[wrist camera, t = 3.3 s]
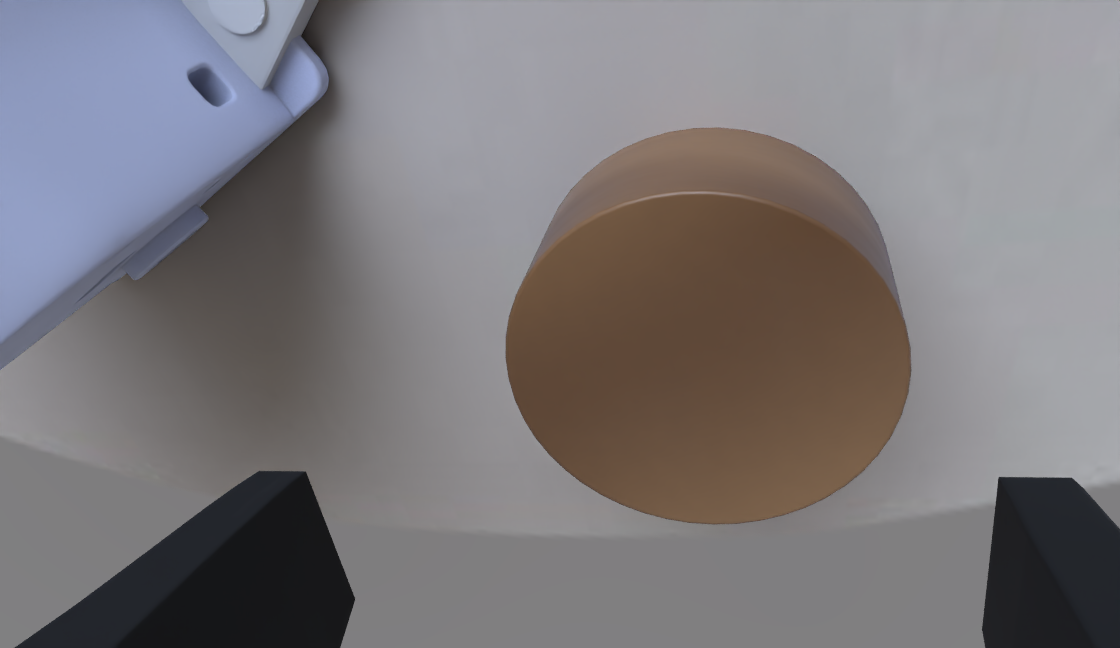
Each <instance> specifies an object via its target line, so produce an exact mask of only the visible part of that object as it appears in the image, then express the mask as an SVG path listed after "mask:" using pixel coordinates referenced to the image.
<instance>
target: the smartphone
mask: <svg viewBox="0 0 1120 648" xmlns="http://www.w3.org/2000/svg"><path fill="white" fill-rule="evenodd" d="M181 1H182V2H183V3H184V5H185V6H186V7H187V8H188V10H189V11H190V12H191V13H192V14H193V16H194V17H195V18H196V19H197V20H198V22H199V23H200V24H201V25H202V26H203V27H204V28H205V29H206V30H207V31H208V33H209V34H210V35H211V36H212V37H213V38H214V39H215V40H216V41H217V43H218V44H219V45H220V46H221V47H222V48H223V49H224V50H225V51H226V53H227V54H228V55H229V56H230V57H231V58H232V59H233V60H234V61H235V63H236V64H237V65H238V66H239V67H240V68H241V69H242V70H243V71H244V72H245V73H246V75H247V76H248V77H249V78H250V79H251V80H252V81H253V82H254V83H255V84H256V85H257V86H258V87H259V88H260V89H261V90H262V89H264V88H265V87H267V86H269V85H270V83H271V80H272V78H273V76H274V74H275V72H276V70H277V68H278V66H279V64H280V62H281V60H282V58H283V56H284V54H285V52H286V50H287V48H288V46H289V44H290V42H291V41H292V39H294V38H296V37H297V36H299V35H300V36H301V35H302V33H303V31H304V29H305V27H306V25H307V23H308V21H309V19H310V17H311V15H312V13H313V11H314V9H315V7H316V5H317V3H318V1H319V0H181Z"/></svg>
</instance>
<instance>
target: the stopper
mask: <svg viewBox="0 0 1120 648" xmlns="http://www.w3.org/2000/svg"><path fill="white" fill-rule="evenodd" d="M506 363H507V370H508V377H509V381H510V385H511V388H512V391H513V395H514V398H515V401H516V403H517V405H518V408H519V410H520V412H521V414H522V416H523V418H524V420H525V422H526V423H527V425H528V427H529V428H530V430H531V431H532V433H533V435H534V436H535V438H536V439H537V440H538V441H539V443H540V444H541V445H542V446H543V448H544V449H545V450H546V451H547V452H548V454H549V455H550V456H551V457H552V458H553V459H554V460H555V461H557V462H558V463H559V464H560V465H561V466H562V467H563V468H564V469H565V470H566V471H567V472H569V473H570V474H571V475H573V476H574V477H575V478H576V479H578V480H579V481H580V482H582V483H583V484H585V485H586V486H588V487H590V488H591V489H593V490H594V491H596V492H598V493H599V494H601V495H603V496H605V497H607V498H609V499H611V500H613V501H615V502H617V503H619V504H621V505H624V506H626V507H629V508H632V509H635V510H637V511H640V512H643V513H646V514H650V515H654V516H657V517H661V518H665V519H670V520H676V521H682V522H688V523H702V524H737V523H745V522H753V521H761V520H765V519H769V518H774V517H778V516H782V515H785V514H788V513H791V512H794V511H797V510H800V509H803V508H806V507H808V506H810V505H812V504H814V503H816V502H818V501H820V500H822V499H824V498H826V497H828V496H830V495H831V494H833V493H834V492H836V491H838V490H839V489H841V488H842V487H844V486H846V485H847V484H848V483H849V482H850V481H852V480H853V479H854V478H855V477H856V476H858V475H859V474H860V473H861V472H863V471H864V470H865V468H866V467H867V466H868V465H869V464H870V463H871V462H872V461H873V460H874V459H875V458H876V457H877V456H878V454H879V453H880V452H881V450H882V449H883V447H884V446H885V444H886V443H887V442H888V440H889V439H890V437H891V436H892V434H893V432H894V430H895V428H896V426H897V424H898V421H899V419H900V417H901V415H902V412H903V409H904V406H905V403H906V399H907V396H908V392H909V385H910V377H911V348H910V343H909V338H908V333H907V328H906V324H905V320H904V316H903V312H902V308H901V304H900V300H899V296H898V292H897V288H896V284H895V280H894V276H893V272H892V268H891V264H890V260H889V256H888V252H887V248H886V244H885V242H884V239H883V236H882V234H881V231H880V229H879V226H878V224H877V222H876V220H875V219H874V217H873V215H872V213H871V212H870V210H869V208H868V206H867V205H866V203H865V202H864V201H863V200H862V198H861V197H860V196H859V195H858V193H857V192H856V191H855V189H854V188H853V187H852V186H851V185H850V184H849V183H848V182H847V181H846V180H845V179H844V178H843V177H841V176H840V175H839V174H838V173H837V172H836V171H835V170H834V169H832V168H831V167H830V166H828V165H827V164H825V163H824V162H823V161H821V160H820V159H818V158H817V157H816V156H814V155H812V154H810V153H808V152H806V151H804V150H802V149H800V148H798V147H797V146H795V145H793V144H790V143H787V142H784V141H782V140H779V139H776V138H774V137H771V136H767V135H763V134H759V133H754V132H750V131H746V130H737V129H727V128H693V129H686V130H679V131H673V132H668V133H664V134H661V135H657V136H653V137H650V138H646V139H644V140H641V141H639V142H637V143H634V144H632V145H630V146H627V147H625V148H623V149H621V150H620V151H618V152H616V153H615V154H613V155H611V156H610V157H608V158H606V159H605V160H603V161H602V162H600V163H599V164H598V165H597V166H595V167H594V168H593V169H592V170H590V171H589V172H588V173H587V174H586V175H585V176H584V177H583V178H582V179H581V180H580V181H579V182H578V183H577V184H576V185H575V186H574V187H573V188H572V189H571V190H570V192H569V193H568V195H567V196H566V198H565V199H564V200H563V202H562V203H561V205H560V206H559V207H558V209H557V211H556V213H555V215H554V217H553V219H552V221H551V223H550V225H549V227H548V229H547V231H546V234H545V236H544V238H543V240H542V242H541V244H540V246H539V248H538V250H537V252H536V254H535V257H534V259H533V261H532V263H531V265H530V267H529V269H528V271H527V273H526V275H525V277H524V280H523V282H522V284H521V286H520V288H519V290H518V292H517V294H516V297H515V300H514V303H513V306H512V309H511V312H510V315H509V320H508V326H507V333H506Z"/></svg>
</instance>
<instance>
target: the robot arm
mask: <svg viewBox="0 0 1120 648" xmlns="http://www.w3.org/2000/svg"><path fill="white" fill-rule="evenodd" d="M328 83H329V77H328V73H327V69H326V67H325V66H324V64H323V62H322V61H321V59H320V58H319V57H318V56H317V55H316V53H315V52H314V51H313V50H312V49H311V48H310V46H309V45H308V44H307V43H306V42H305V41H304V40H303V38H302V37H301V36H300V35H299V36H297V37H296V38H294V39H292V41H291V42H290V44H289V46H288V48H287V50H286V52H285V54H284V56H283V58H282V60H281V62H280V64H279V66H278V68H277V70H276V72H275V74H274V76H273V78H272V80H271V83H270V85H269V86H267V87H265V88H264V89H262V90H261V89H260V88H259V87H258V86H257V85H256V84H255V83H254V82H253V81H252V80H251V79H250V78H249V77H248V76H247V75H246V73H245V72H244V71H243V70H242V69H241V68H240V67H239V66H238V65H237V64H236V63H235V61H234V60H233V59H232V58H231V57H230V56H229V55H228V54H227V53H226V51H225V50H224V49H223V48H222V47H221V46H220V45H219V44H218V43H217V41H216V40H215V39H214V38H213V37H212V36H211V35H210V34H209V33H208V31H207V30H206V29H205V28H204V27H203V26H202V25H201V24H200V23H199V22H198V20H197V19H196V18H195V17H194V16H193V14H192V13H191V12H190V11H189V10H188V8H187V7H186V6H185V5H184V3H183V2H182V1H181V0H0V370H1V369H2V368H4V367H5V366H6V365H8V364H9V363H10V362H11V361H13V360H14V359H15V358H17V357H18V356H19V355H20V354H22V353H23V352H24V351H25V350H27V349H28V348H29V347H31V346H32V345H33V344H34V343H36V342H37V341H38V340H40V339H41V338H42V337H43V336H45V335H46V334H47V333H48V332H50V331H51V330H52V329H54V328H55V327H56V326H57V325H59V324H60V323H61V322H63V321H64V320H65V319H66V318H68V317H69V316H70V315H71V314H73V313H74V312H75V311H77V310H78V309H79V308H80V307H82V306H83V305H84V304H86V303H87V302H88V301H89V300H91V299H92V298H93V297H94V296H96V295H97V294H98V293H100V292H101V291H102V290H103V289H105V288H106V287H107V286H109V285H110V284H111V283H113V282H115V281H117V280H119V279H120V278H121V277H122V276H124V275H125V274H126V273H127V274H128V275H129V276H130V277H131V278H132V279H133V280H138V279H140V278H141V277H142V276H144V275H145V274H146V273H147V272H149V271H150V270H151V269H152V268H154V267H155V266H156V265H157V264H158V263H160V262H161V261H162V260H163V259H164V258H166V257H167V256H168V255H169V254H170V253H172V252H173V251H174V250H175V249H176V248H178V247H179V246H180V245H181V244H182V243H183V242H185V241H186V240H187V239H188V238H189V237H190V236H191V235H193V234H194V233H195V232H196V231H197V230H198V229H199V228H201V227H202V226H203V225H204V224H205V223H206V222H207V221H208V216H207V215H206V214H205V213H204V212H203V211H202V210H201V209H200V208H199V207H200V206H202V205H203V204H204V203H205V202H206V201H207V200H208V199H209V198H210V197H212V196H213V195H214V194H215V193H216V192H217V191H218V190H219V189H220V188H222V187H223V186H224V185H225V184H226V183H227V182H228V181H229V180H230V179H232V178H233V177H234V176H235V175H236V174H237V173H238V172H239V171H240V170H242V169H243V168H244V167H245V166H246V165H247V164H248V163H249V162H250V161H251V160H253V159H254V158H255V157H256V156H257V155H258V154H259V153H260V152H261V151H263V150H264V149H265V148H266V147H267V146H268V145H269V144H270V143H271V142H273V141H274V140H275V139H276V138H277V137H278V136H279V135H280V134H281V133H283V132H284V131H285V130H286V129H287V128H288V127H289V126H290V125H291V124H293V123H294V122H295V121H296V120H297V119H298V118H299V117H300V116H301V115H303V114H304V113H305V112H306V111H307V110H308V109H309V108H310V107H311V106H313V105H314V104H315V103H316V102H317V101H318V100H319V99H320V98H321V97H323V95H324V94H325V92H326V91H327V89H328ZM354 601H355V597H354V595H353V592H352V590H351V587H350V584H349V582H348V579H347V577H346V574H345V572H344V569H343V566H342V564H341V561H340V559H339V556H338V553H337V551H336V549H335V546H334V543H333V541H332V538H331V535H330V533H329V530H328V528H327V525H326V522H325V520H324V517H323V515H322V512H321V509H320V507H319V504H318V502H317V499H316V497H315V494H314V491H313V489H312V486H311V484H310V481H309V478H308V476H307V473H306V472H303V471H258V472H257V473H255V474H254V475H252V476H251V477H249V478H247V479H246V480H244V481H243V482H241V483H240V484H238V485H237V486H235V487H234V488H233V489H231V490H230V491H228V492H227V493H225V494H224V495H223V496H221V497H220V498H218V499H217V500H216V501H214V502H213V503H212V504H210V505H209V506H207V507H206V508H205V509H203V510H202V511H201V512H199V513H198V514H197V515H195V516H194V517H193V518H191V519H190V520H189V521H187V522H186V523H185V524H183V525H182V526H181V527H179V528H178V529H177V530H175V531H174V532H173V533H171V534H170V535H169V536H167V537H166V538H165V539H163V540H162V541H161V542H159V543H158V544H157V545H155V546H154V547H153V548H152V549H150V550H149V551H147V552H146V553H145V554H143V555H142V556H141V557H139V558H138V559H137V560H135V561H134V562H133V563H131V564H130V565H129V566H127V567H126V568H125V569H123V570H122V571H121V572H119V573H118V574H117V575H115V576H114V577H113V578H111V579H110V580H108V581H107V582H106V583H104V584H103V585H102V586H101V587H99V588H98V589H97V590H95V591H94V592H92V593H91V594H90V595H89V596H87V597H86V598H84V599H83V600H82V601H80V602H79V603H78V604H76V605H75V606H73V607H72V608H71V609H69V610H68V611H66V612H65V613H63V614H62V615H61V616H59V617H58V618H56V619H55V620H54V621H52V622H51V623H49V624H48V625H46V626H45V627H44V628H42V629H41V630H39V631H38V632H36V633H35V634H34V635H32V636H31V637H29V638H28V639H26V640H25V641H24V642H22V643H21V644H19V645H18V646H17V647H15V648H340V646H341V643H342V640H343V636H344V634H345V630H346V627H347V624H348V621H349V617H350V614H351V611H352V608H353V604H354ZM982 631H983V637H984V642H985V648H1120V529H1119V528H1118V527H1117V525H1116V524H1115V523H1114V522H1113V521H1112V520H1111V519H1110V518H1109V516H1107V514H1106V513H1105V512H1104V511H1103V510H1102V509H1101V508H1100V506H1099V505H1098V504H1097V503H1096V502H1095V501H1094V500H1093V499H1092V498H1091V496H1090V495H1089V494H1088V493H1087V492H1086V491H1085V490H1084V488H1083V487H1081V486H1080V485H1079V484H1078V483H1077V482H1076V481H1075V480H1074V479H1073V478H1032V477H999V479H998V488H997V498H996V507H995V516H994V526H993V534H992V544H991V553H990V563H989V571H988V581H987V590H986V599H985V608H984V617H983V626H982Z"/></svg>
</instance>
